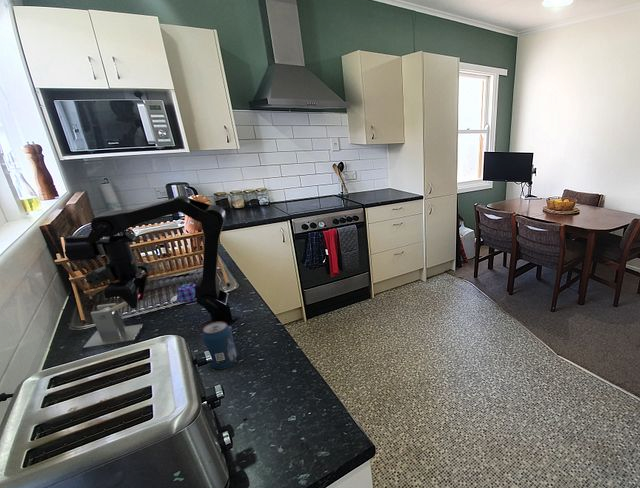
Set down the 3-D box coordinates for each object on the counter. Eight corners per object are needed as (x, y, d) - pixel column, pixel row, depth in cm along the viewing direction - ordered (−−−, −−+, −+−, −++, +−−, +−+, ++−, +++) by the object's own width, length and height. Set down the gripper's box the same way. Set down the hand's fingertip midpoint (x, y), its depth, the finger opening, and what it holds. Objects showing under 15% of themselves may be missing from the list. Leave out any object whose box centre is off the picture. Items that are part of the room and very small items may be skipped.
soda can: (211, 357, 100) (201, 322, 95) (238, 352, 102) (230, 318, 97) (208, 373, 94) (198, 336, 89) (237, 367, 97) (228, 331, 92)
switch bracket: (144, 327, 112) (133, 297, 108) (134, 342, 105) (122, 312, 100) (97, 333, 108) (84, 303, 104) (84, 350, 101) (69, 319, 96)
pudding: (204, 288, 137) (201, 276, 135) (212, 300, 129) (209, 287, 127) (168, 297, 130) (164, 285, 128) (174, 310, 122) (170, 297, 120)
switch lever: (143, 296, 107) (137, 290, 106) (138, 304, 103) (131, 298, 101) (107, 314, 105) (101, 308, 104) (100, 322, 101) (93, 317, 100)
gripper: (99, 248, 103) (116, 294, 110) (67, 273, 88) (90, 325, 94) (144, 244, 107) (158, 289, 114) (121, 268, 92) (139, 318, 98)
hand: (137, 304), depth 105 cm, fingers closed on switch lever, 5 cm apart
